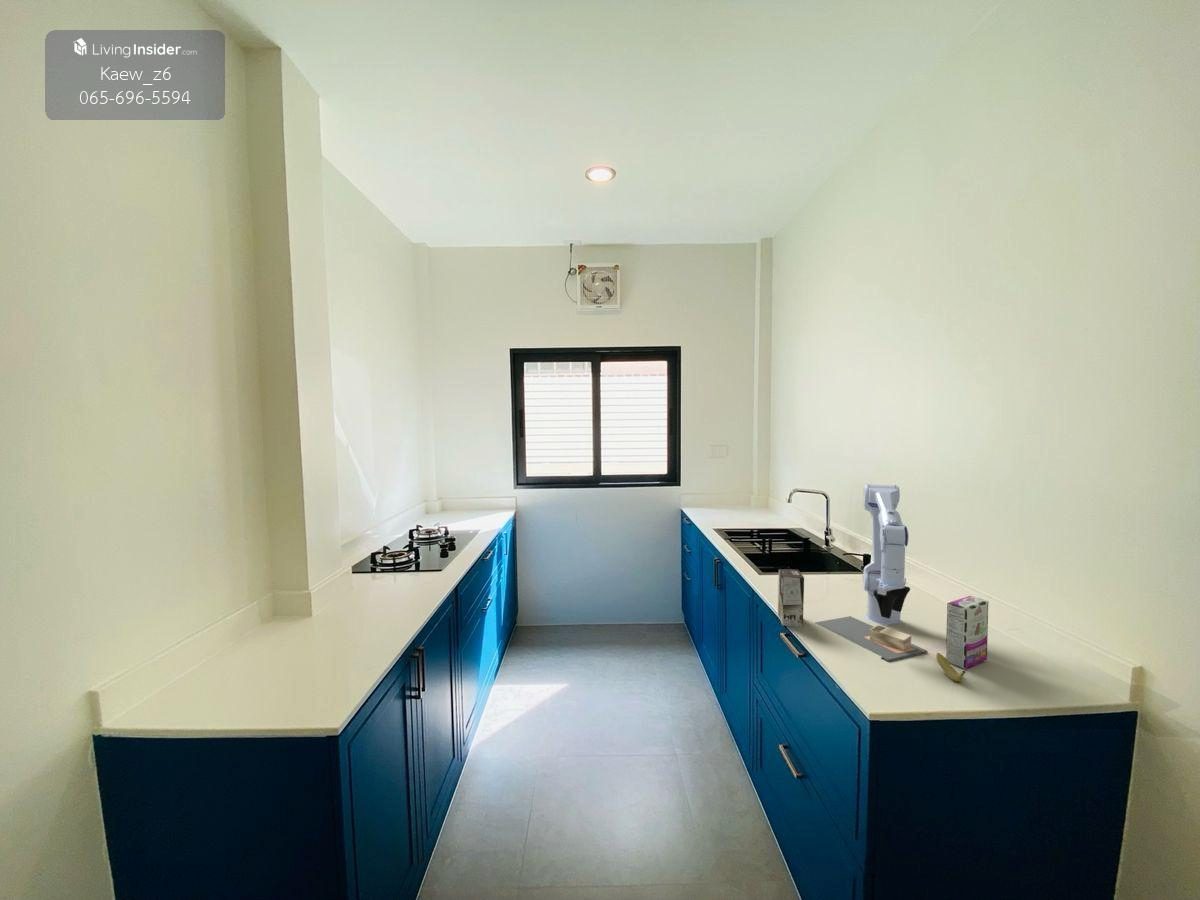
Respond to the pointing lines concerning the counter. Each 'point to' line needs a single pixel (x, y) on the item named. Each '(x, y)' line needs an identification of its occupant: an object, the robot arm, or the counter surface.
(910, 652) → the mat
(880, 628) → the card box
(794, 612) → the coffee box
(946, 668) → the banana
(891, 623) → the robot arm
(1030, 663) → the counter surface
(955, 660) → the candy bar box
